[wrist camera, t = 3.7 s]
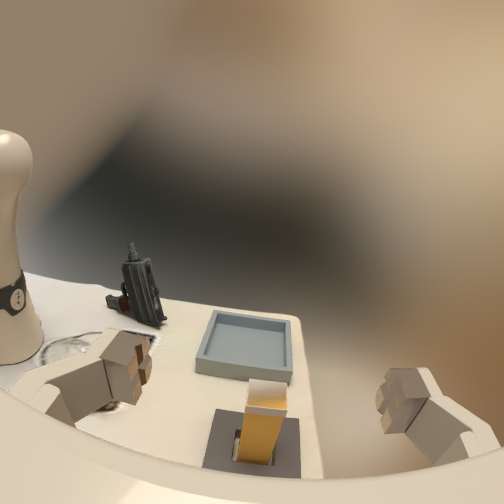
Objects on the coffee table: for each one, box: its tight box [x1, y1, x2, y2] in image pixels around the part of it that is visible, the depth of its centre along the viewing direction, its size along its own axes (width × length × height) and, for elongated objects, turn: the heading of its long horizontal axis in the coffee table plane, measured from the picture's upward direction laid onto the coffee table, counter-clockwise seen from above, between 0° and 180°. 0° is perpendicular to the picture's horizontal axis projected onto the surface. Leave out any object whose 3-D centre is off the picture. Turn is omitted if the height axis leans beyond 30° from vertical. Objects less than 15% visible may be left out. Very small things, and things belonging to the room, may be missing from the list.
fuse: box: [237, 378, 287, 465], centre depth 31 cm, size 4×4×13 cm
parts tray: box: [196, 310, 293, 386], centre depth 54 cm, size 16×16×4 cm
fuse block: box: [202, 409, 301, 479], centre depth 33 cm, size 12×12×2 cm
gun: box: [106, 242, 167, 325], centre depth 58 cm, size 3×17×15 cm
